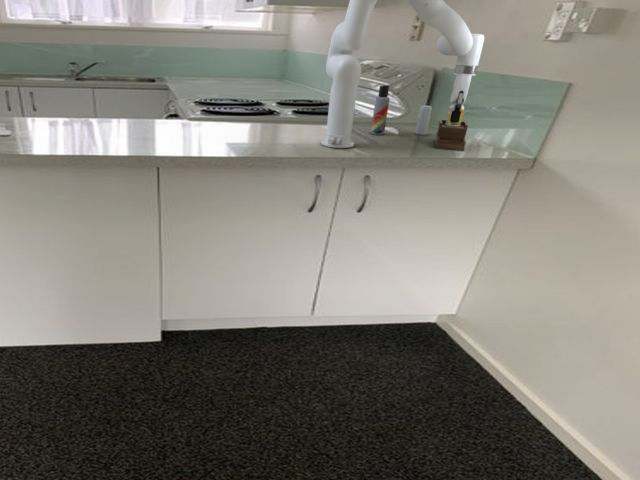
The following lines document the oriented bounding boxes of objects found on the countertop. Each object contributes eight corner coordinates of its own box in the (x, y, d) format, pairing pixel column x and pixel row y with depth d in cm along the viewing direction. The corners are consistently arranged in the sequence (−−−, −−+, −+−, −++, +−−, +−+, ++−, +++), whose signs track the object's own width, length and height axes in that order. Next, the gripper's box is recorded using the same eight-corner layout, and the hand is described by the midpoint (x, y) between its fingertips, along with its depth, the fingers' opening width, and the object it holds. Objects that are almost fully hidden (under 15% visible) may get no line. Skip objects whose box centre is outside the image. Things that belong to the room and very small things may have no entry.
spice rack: (463, 151, 159) (469, 128, 155) (435, 148, 162) (440, 125, 158) (461, 143, 172) (466, 121, 168) (435, 140, 175) (439, 119, 171)
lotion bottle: (376, 135, 181) (384, 86, 172) (367, 133, 186) (374, 84, 176) (386, 134, 183) (394, 85, 174) (377, 132, 188) (385, 84, 179)
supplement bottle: (442, 125, 166) (448, 99, 162) (449, 123, 169) (455, 98, 165) (455, 127, 163) (462, 101, 158) (462, 126, 166) (468, 100, 161)
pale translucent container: (426, 134, 187) (432, 105, 182) (426, 136, 183) (432, 107, 178) (414, 133, 188) (420, 105, 183) (414, 135, 184) (420, 106, 179)
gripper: (453, 69, 165) (442, 117, 173) (455, 71, 151) (444, 123, 159) (474, 70, 163) (462, 118, 171) (478, 72, 148) (465, 125, 157)
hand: (453, 120), depth 165 cm, fingers closed on supplement bottle, 5 cm apart
